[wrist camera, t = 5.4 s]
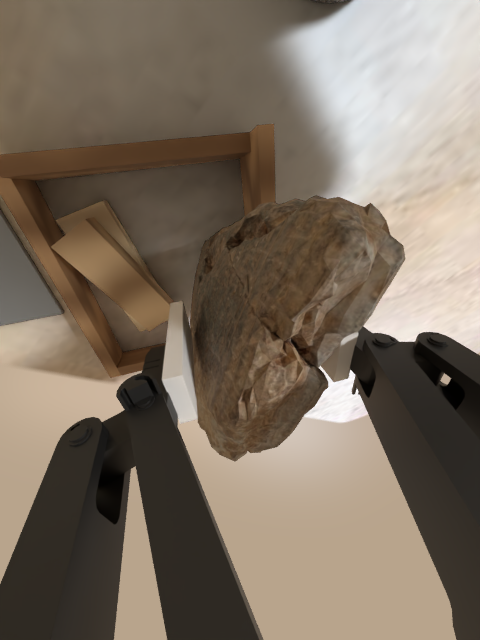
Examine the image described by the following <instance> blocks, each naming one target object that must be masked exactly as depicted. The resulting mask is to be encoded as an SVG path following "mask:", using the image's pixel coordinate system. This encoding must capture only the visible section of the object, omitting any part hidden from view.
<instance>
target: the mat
mask: <svg viewBox="0 0 480 640" xmlns="http://www.w3.org/2000/svg"><path fill="white" fill-rule="evenodd" d="M63 313H64V311H63V309H62V308H61V306H60V304H59V303H58V301H57V300H56V298H55V296H54V295H53V293H52V292H51V290H50V288H49V287H48V285H47V284H46V282H45V280H44V279H43V277H42V275H41V274H40V272H39V271H38V269H37V267H36V266H35V264H34V263H33V261H32V259H31V258H30V256H29V254H28V253H27V251H26V250H25V248H24V246H23V245H22V243H21V242H20V240H19V238H18V237H17V235H16V234H15V232H14V230H13V229H12V227H11V225H10V224H9V222H8V221H7V219H6V217H5V216H4V214H3V213H2V211H1V209H0V326H2V325H7V324H12V323H17V322H23V321H28V320H33V319H38V318H44V317H49V316H54V315H59V314H63Z"/></svg>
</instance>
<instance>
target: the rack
mask: <svg viewBox="0 0 480 640" xmlns="http://www.w3.org/2000/svg"><path fill="white" fill-rule="evenodd" d="M234 159H240V168H241V179H242V191H243V202H244V214H245V216H246V215H247V214H248V213H250V212H251V211H253V210H254V209H255V208H256V207H257V206H258V205H259V204H263V203H268V202H274V203H275V150H274V124H265V125H257V126H256V127H255V128H254V129H253V130H252V131H251V132H247V133H236V134H225V135H214V136H202V137H191V138H180V139H169V140H158V141H147V142H136V143H124V144H113V145H102V146H91V147H80V148H69V149H58V150H46V151H35V152H24V153H13V154H2V155H0V195H1V196H2V198H3V200H4V201H5V203H6V205H7V206H8V208H9V210H10V211H11V213H12V215H13V216H14V218H15V220H16V221H17V223H18V225H19V226H20V228H21V230H22V231H23V233H24V235H25V236H26V238H27V240H28V241H29V243H30V245H31V246H32V248H33V249H34V251H35V253H36V254H37V256H38V258H39V259H40V261H41V263H42V264H43V266H44V268H45V269H46V271H47V273H48V274H49V276H50V278H51V279H52V281H53V283H54V284H55V286H56V288H57V289H58V291H59V293H60V294H61V296H62V298H63V299H64V301H65V303H66V304H67V306H68V308H69V309H70V311H71V313H72V314H73V316H74V318H75V319H76V321H77V323H78V324H79V326H80V328H81V329H82V331H83V333H84V334H85V336H86V338H87V339H88V341H89V343H90V344H91V346H92V348H93V349H94V351H95V353H96V354H97V356H98V358H99V359H100V361H101V363H102V364H103V366H104V368H105V369H106V371H107V373H108V374H109V376H110V378H112V377H116V376H120V375H125V374H129V373H133V372H137V371H141V370H143V365H144V361H145V356H146V354H147V353H148V352H149V350H150V349H151V348H154V347H158V346H163V345H166V343H163V344H158V345H154V346H150V347H145V348H141V349H136V350H132V351H127V352H122V350H121V348H120V346H119V344H118V342H117V340H116V338H115V336H114V334H113V332H112V330H111V328H110V327H109V325H108V323H107V321H106V319H105V317H104V315H103V313H102V311H101V309H100V307H99V305H98V303H97V301H96V299H95V297H94V295H93V293H92V291H91V289H90V288H89V286H88V284H87V282H86V280H85V278H84V276H83V274H82V273H80V272H79V271H78V270H77V269H76V268H75V267H73V266H72V265H71V264H70V263H69V262H68V261H66V260H65V259H64V258H63V257H62V256H61V255H59V254H58V253H57V252H56V251H55V250H54V249H52V248H51V246H52V245H54V244H55V243H56V242H57V241H59V240H60V239H61V238H62V237H63V235H62V233H61V231H60V229H59V227H58V225H57V223H56V221H55V219H54V217H53V215H52V214H51V212H50V210H49V208H48V206H47V204H46V202H45V200H44V198H43V196H42V194H41V192H40V190H39V188H38V186H37V184H36V182H35V181H38V180H48V179H57V178H66V177H76V176H85V175H94V174H103V173H113V172H122V171H131V170H141V169H150V168H159V167H169V166H178V165H187V164H197V163H206V162H215V161H225V160H234Z"/></svg>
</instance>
